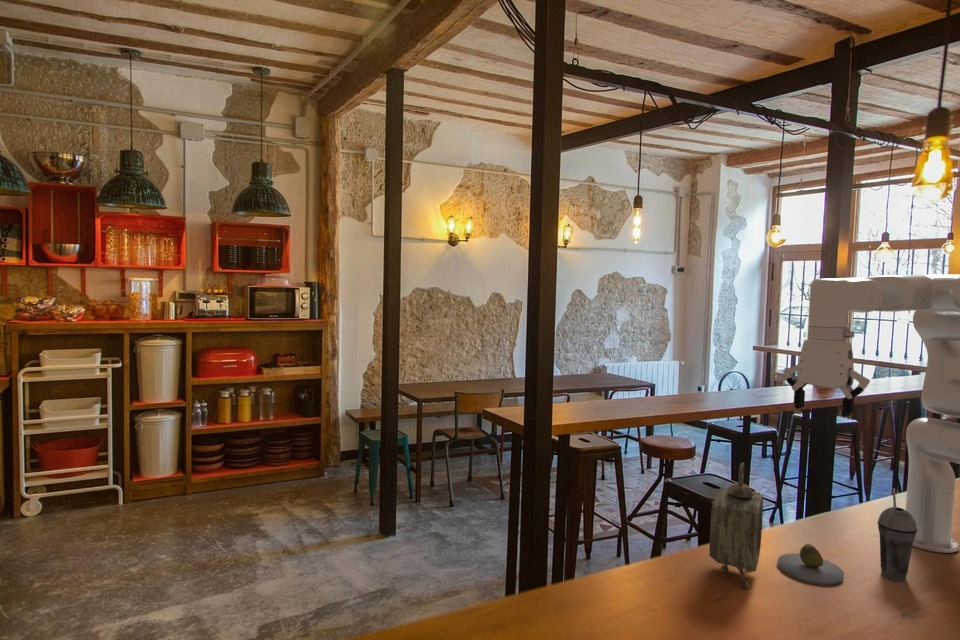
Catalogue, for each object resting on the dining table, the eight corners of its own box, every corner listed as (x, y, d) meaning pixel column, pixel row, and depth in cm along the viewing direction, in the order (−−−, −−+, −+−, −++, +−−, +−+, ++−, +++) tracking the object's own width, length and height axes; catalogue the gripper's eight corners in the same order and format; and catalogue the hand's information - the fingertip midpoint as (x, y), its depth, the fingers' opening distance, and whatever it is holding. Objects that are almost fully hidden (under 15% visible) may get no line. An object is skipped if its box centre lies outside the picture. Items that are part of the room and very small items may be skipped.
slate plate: (791, 552, 144) (791, 548, 144) (852, 573, 134) (852, 568, 134) (767, 568, 135) (768, 564, 135) (831, 591, 125) (831, 587, 125)
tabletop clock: (753, 595, 123) (759, 475, 122) (706, 583, 128) (712, 468, 126) (759, 566, 136) (765, 458, 134) (717, 557, 140) (722, 452, 139)
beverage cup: (920, 587, 129) (927, 495, 127) (882, 582, 130) (889, 492, 129) (903, 571, 136) (910, 484, 134) (868, 567, 137) (874, 481, 136)
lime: (801, 559, 138) (802, 538, 138) (824, 566, 135) (826, 544, 134) (796, 566, 134) (798, 544, 134) (821, 573, 131) (822, 551, 131)
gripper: (878, 337, 127) (872, 417, 128) (793, 331, 140) (789, 403, 142) (865, 339, 122) (859, 421, 123) (779, 332, 136) (774, 406, 137)
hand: (822, 411), depth 132 cm, fingers open, 9 cm apart
